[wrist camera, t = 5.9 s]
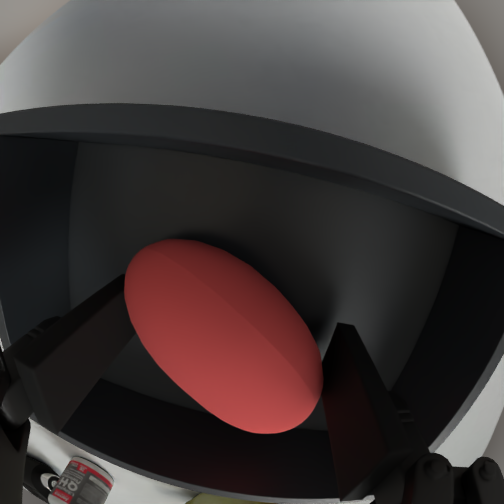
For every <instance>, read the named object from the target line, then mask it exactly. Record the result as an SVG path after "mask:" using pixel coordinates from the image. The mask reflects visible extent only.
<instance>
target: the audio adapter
mask: <svg viewBox="0 0 504 504" xmlns="http://www.w3.org/2000/svg"><path fill="white" fill-rule="evenodd" d="M59 478H60V477H59V476H58V475H57V474H56V473H55V472H54V471H53V470H52V469H51V468H50V467H49V466H47V465H45V464H42V463H40V462H38V461H36V460H34V459H32V458H30V457H28V456H26V460H25V468H24V477H23V486H24V487H25V488H26V489H27V490H28V491H30V492H31V493H32V494H33V495H35V496H36V497H38V498H39V499H41V500H43V501H45V502H46V503H48V504H50V503H49V501H48V496H49V494H50V492H51V491H52V489H53V488H54V486H55V485H56V483H57V482H58V480H59Z"/></svg>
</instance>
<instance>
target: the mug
mask: <svg viewBox="0 0 504 504" xmlns="http://www.w3.org/2000/svg"><path fill="white" fill-rule="evenodd" d="M186 504H277V503H267V502H256V501H248V500H240V499H234V498H227V497H222V496H216V495H211V494H206V493H201V494H199V495H197V496H196V497H195V498H193V499H192V500H190V501H188V502H187V503H186Z"/></svg>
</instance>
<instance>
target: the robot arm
mask: <svg viewBox="0 0 504 504" xmlns="http://www.w3.org/2000/svg"><path fill="white" fill-rule="evenodd" d="M124 286H125V274H121V275H120V276H118V277H117V278H115V279H114V280H113V281H111V282H110V283H108V284H107V285H105V286H104V287H103V288H101V289H100V290H98V291H97V292H96V293H94V294H93V295H91V296H90V297H89V298H87V299H86V300H85V301H83V302H82V303H81V304H79V305H78V306H76V307H75V308H74V309H72V310H71V311H70V312H68V313H67V314H66V315H64V316H63V317H62V318H61V317H59V316H54V317H51V318H48V319H46V320H44V321H42V322H41V323H40V324H38V325H37V326H36V327H35V329H34V328H33V329H32V330H30V331H29V332H28V334H25V335H24V336H22V337H21V338H20V339H18V340H17V341H16V342H15V343H13V344H12V345H11V346H9V347H8V348H7V349H6V350H4V351H3V352H2V349H1V346H0V504H22V490H23V477H24V468H25V460H26V452H27V446H28V440H29V434H30V429H31V426H30V421H29V419H28V418H29V417H30V415H31V414H32V413H33V412H34V414H35V416H36V418H37V420H38V422H39V424H41V425H42V426H44V427H45V428H47V429H49V430H50V431H52V432H53V433H55V434H57V435H58V433H59V432H60V431H61V429H62V428H63V426H64V425H65V424H66V422H67V421H68V420H69V418H70V417H71V416H72V414H73V413H74V412H75V410H76V409H77V408H78V406H79V405H80V404H81V402H82V401H83V400H84V398H85V397H86V396H87V394H88V393H89V392H90V390H91V389H92V388H93V387H94V385H95V384H96V383H97V381H98V380H99V379H100V378H101V376H102V375H103V374H104V372H105V371H106V370H107V369H108V367H109V366H110V365H111V364H112V362H113V361H114V360H115V358H116V357H117V356H118V355H119V353H120V352H121V351H122V350H123V348H124V347H125V346H126V345H127V344H128V342H129V341H130V340H131V339H132V337H133V336H134V335H135V334H136V330H135V328H134V326H133V324H132V322H131V320H130V316H129V313H128V309H127V306H126V302H125V296H124ZM322 368H323V376H324V382H323V389H322V393H321V396H322V401H323V406H324V412H325V417H326V422H327V427H328V433H329V438H330V444H331V450H332V455H333V461H334V467H335V473H336V479H337V486H338V492H339V499H340V502H342V501H354V500H363V499H364V498H365V497H366V496H368V495H369V494H370V493H371V492H372V491H373V494H374V498H375V500H374V501H372V502H371V503H370V504H504V479H503V475H502V473H501V470H500V468H499V466H498V464H497V463H496V462H495V461H494V460H493V459H490V458H488V457H480V458H477V459H476V460H475V462H474V463H473V464H472V465H471V466H470V467H452V465H451V464H450V462H449V461H448V459H446V458H445V457H444V456H442V455H440V454H437V453H430V451H429V449H428V447H427V444H426V442H425V440H424V438H423V436H422V434H421V432H420V430H419V428H418V426H417V424H416V422H414V418H413V416H412V414H411V413H410V410H409V408H408V406H407V404H406V402H405V400H404V399H403V398H402V397H401V396H400V395H399V394H398V393H397V392H396V391H387V389H386V387H385V385H384V383H383V381H382V379H381V377H380V375H379V373H378V371H377V369H376V367H375V365H374V363H373V361H372V359H371V357H370V355H369V353H368V351H367V349H366V347H365V345H364V343H363V341H362V339H361V337H360V335H359V333H358V332H357V330H356V328H355V326H354V325H351V324H345V323H339V322H337V325H336V327H335V330H334V333H333V335H332V338H331V341H330V343H329V346H328V348H327V351H326V353H325V356H324V358H323V360H322Z"/></svg>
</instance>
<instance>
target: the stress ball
mask: <svg viewBox="0 0 504 504" xmlns="http://www.w3.org/2000/svg"><path fill="white" fill-rule="evenodd" d="M124 296H125V302H126V306H127V309H128V313H129V316H130V320H131V322H132V324H133V326H134V328H135V330H136V332H137V334H138V336H139V338H140V340H141V342H142V344H143V345H144V347H145V348H146V350H147V351H148V352H149V354H150V355H151V356H152V358H153V359H154V360H155V362H156V363H157V364H158V365H159V367H160V368H161V369H162V370H163V371H164V372H165V373H166V374H167V375H168V376H169V377H170V378H171V379H172V380H173V381H174V382H175V383H176V384H177V385H178V386H179V387H180V388H182V389H183V390H184V391H185V392H186V393H187V394H188V395H190V396H191V397H192V398H193V399H194V400H196V401H197V402H198V403H199V404H200V405H202V406H203V407H204V408H205V409H206V410H208V411H209V412H211V413H212V414H214V415H215V416H216V417H218V418H219V419H221V420H223V421H224V422H226V423H228V424H230V425H232V426H235V427H237V428H240V429H242V430H245V431H248V432H252V433H261V434H270V433H280V432H284V431H287V430H290V429H292V428H294V427H296V426H298V425H299V424H301V423H302V422H303V421H304V420H305V419H307V418H308V416H309V415H310V414H311V413H312V411H313V410H314V408H315V406H316V404H317V402H318V400H319V398H320V396H321V393H322V389H323V382H324V376H323V368H322V361H321V354H320V351H319V349H318V346H317V344H316V342H315V340H314V338H313V336H312V334H311V332H310V331H309V329H308V327H307V325H306V324H305V322H304V321H303V319H302V318H301V317H300V315H299V314H298V313H297V311H296V310H295V309H294V307H293V306H292V305H291V304H290V303H289V301H288V300H287V299H286V298H285V297H284V296H283V295H282V294H281V292H280V291H279V290H278V289H277V288H276V287H275V286H274V285H273V284H271V283H270V282H269V281H268V280H267V279H266V278H264V277H263V276H262V275H261V274H260V273H259V272H257V271H256V270H255V269H254V268H253V267H252V266H250V265H249V264H247V263H245V262H244V261H242V260H240V259H238V258H237V257H235V256H233V255H232V254H230V253H228V252H226V251H225V250H222V249H220V248H217V247H214V246H211V245H208V244H205V243H202V242H199V241H195V240H184V239H166V240H162V241H159V242H156V243H153V244H150V245H148V246H146V247H144V248H143V249H141V250H140V251H139V252H138V253H137V254H136V255H135V256H134V257H133V259H132V260H131V262H130V264H129V266H128V268H127V271H126V275H125V286H124Z"/></svg>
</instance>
